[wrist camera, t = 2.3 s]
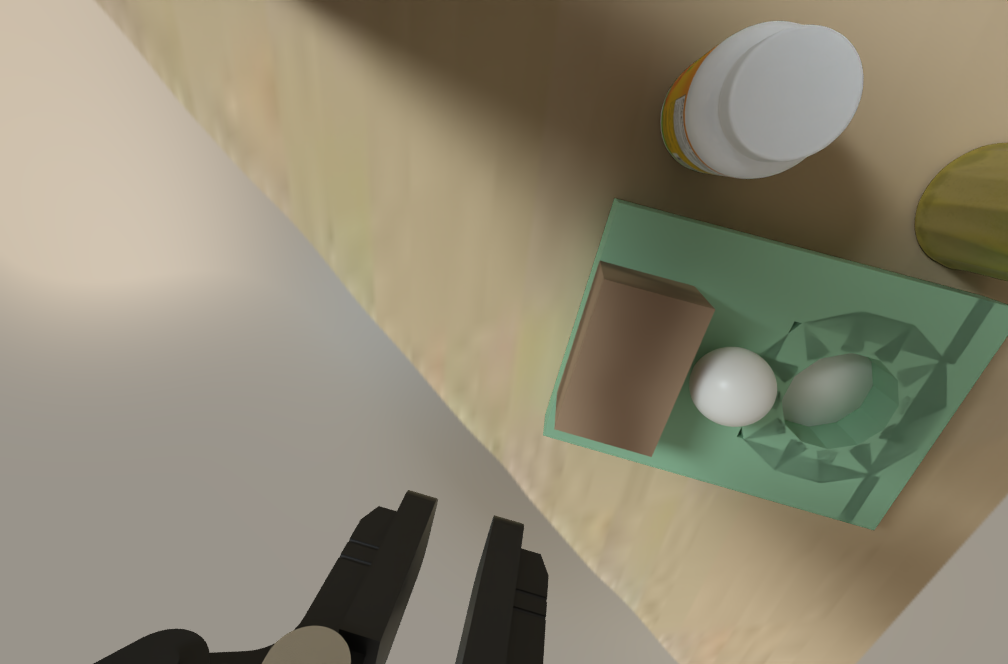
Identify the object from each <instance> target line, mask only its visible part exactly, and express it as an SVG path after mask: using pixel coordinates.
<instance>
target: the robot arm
mask: <svg viewBox="0 0 1008 664" xmlns="http://www.w3.org/2000/svg"><path fill="white" fill-rule="evenodd" d="M437 502H438V499H437V498H433V497H430V496H427V495H423V494H420V493H416V492H413V491H410V490H408V491H407V493H406V494H405V496H404V498H403V500H402V503H401V504H400V507H399V508H398V511H393V510H390V509H387V508H383V507H380V506H379V507H377V508H376V509H374V510H373V511H372V512H370V513H369V514H368V515H366V516H365V517H364V518H362V519H361V520H360V522H359V524H358V525H357V527H356V529H355V531H354V532H353V534H352V536H351V537H350V540H349V542H348V543H347V544H346V546H345V548H344V550H343V551H342V553H341V556H340V558H338V560H337V561H336V563H335V565H334V567H333V569H332V570H331V572H330V574H329V575H328V577H327V579H326V580H325V582H324V584H323V586H322V587H321V589H320V591H319V593H318V594H317V596H316V598H315V600H314V601H313V603H312V605H311V606H310V608H309V610H308V611H307V613H306V615H305V617H304V618H303V620H302V621H301V623H300V624H299V625H298V626H297V627H296V628H295V630H294V631H292V632H289V633H288V634H286V635H285V636H284V637H282V638H281V639H280V640H278V641H277V642H276V643H275V644H273V645H270V646H268V647H265V648H262V649H258V650H253V651H241V652H218V653H209V649H208V646H207V644H206V642H205V641H204V639H203V638H202V637H201V636H199V635H198V634H196V633H194V632H192V631H189V630H185V629H167V630H163V631H158V632H155V633H152V634H150V635H147V636H145V637H143V638H141V639H139V640H137V641H135V642H134V643H132V644H130V645H128V646H126V647H124V648H122V649H120V650H118V651H117V652H115V653H113V654H111V655H109V656H107V657H105V658H103V659H101V660H100V661H98V662H96V663H94V664H385V663H386V660H387V658H388V655H389V652H390V650H391V647H392V644H393V641H394V638H395V636H396V633H397V630H398V628H399V625H400V622H401V620H402V617H403V614H404V611H405V609H406V606H407V603H408V601H409V598H410V595H411V593H412V590H413V587H414V585H415V582H416V579H417V576H418V573H419V571H420V568H421V565H422V562H423V558H424V555H425V551H426V547H427V544H428V539H429V535H430V531H431V527H432V523H433V519H434V515H435V511H436V506H437ZM523 530H524V524H522V523H518V522H515V521H511V520H508V519H505V518H501V517H498V516H494V517H493V520H492V523H491V526H490V530H489V533H488V537H487V540H486V543H485V547H484V550H483V553H482V556H481V560H480V563H479V567H478V570H477V574H476V578H475V582H474V586H473V590H472V594H471V598H470V602H469V607H468V611H467V616H466V620H465V624H464V628H463V633H462V637H461V641H460V645H459V650H458V654H457V658H456V663H455V664H543V656H544V639H545V623H546V620H545V617H546V607H547V602H546V600H547V589H548V573H547V570H546V568H545V565H544V562H543V559H542V557H541V554H538V553H535V552H531V551H528V550H524V549H521V544H522V538H523Z"/></svg>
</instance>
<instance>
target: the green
mask: <svg viewBox="0 0 1008 664" xmlns="http://www.w3.org/2000/svg"><path fill="white" fill-rule="evenodd" d="M599 261H604V262H607V263H611V264H615V265H618V266H622V267H626V268H630V269H633V270H637V271H641V272H644V273H648V274H652V275H655V276H659V277H663V278H666V279H670V280H674V281H677V282H681V283H685V284H689V285H692V286H695V287H696V289H697V290H698V291H699V292H700V293H701V294H702V295H703V296H704V297H705V299H706V300H707V301H708V302H709V303H710V304H711V305H712V306H713V307H714V309H715V311H714V314H713V316H712V318H711V321H710V323H709V325H708V328H707V330H706V332H705V334H704V337H703V339H702V341H701V344H700V346H699V348H698V351H697V353H696V355H695V358H694V360H693V362H692V365H691V367H690V369H689V372H688V374H687V376H686V379H685V381H684V383H683V386H682V388H681V390H680V392H679V395H678V397H677V399H676V402H675V404H674V406H673V409H672V411H671V413H670V416H669V418H668V420H667V423H666V425H665V427H664V430H663V432H662V434H661V437H660V439H659V441H658V444H657V446H656V448H655V451H654V453H653V455H652V457H649V456H646V455H642V454H639V453H635V452H632V451H628V450H625V449H621V448H618V447H614V446H611V445H607V444H604V443H600V442H597V441H593V440H590V439H586V438H583V437H580V436H576V435H573V434H569V433H566V432H562V431H559V430H555V429H554V427H555V413H556V399H557V391H558V388H559V385H560V382H561V379H562V375H563V372H564V369H565V366H566V363H567V360H568V357H569V354H570V351H571V348H572V345H573V341H574V338H575V335H576V332H577V329H578V326H579V323H580V320H581V317H582V314H583V310H584V307H585V304H586V301H587V298H588V295H589V292H590V289H591V286H592V283H593V280H594V276H595V273H596V270H597V267H598V264H599ZM1007 336H1008V304H1005V303H1002V302H999V301H996V300H993V299H990V298H988V297H985V296H981V295H977V294H974V293H970V292H966V291H962V290H959V289H955V288H951V287H947V286H944V285H940V284H936V283H932V282H928V281H925V280H921V279H917V278H913V277H910V276H906V275H902V274H898V273H895V272H891V271H887V270H883V269H880V268H876V267H872V266H868V265H864V264H861V263H857V262H853V261H849V260H846V259H842V258H838V257H834V256H831V255H827V254H823V253H819V252H816V251H812V250H808V249H804V248H800V247H797V246H793V245H789V244H785V243H782V242H778V241H774V240H770V239H767V238H763V237H759V236H755V235H751V234H748V233H744V232H740V231H736V230H733V229H729V228H725V227H721V226H718V225H714V224H710V223H706V222H703V221H699V220H695V219H691V218H687V217H684V216H680V215H676V214H672V213H669V212H665V211H661V210H657V209H654V208H650V207H646V206H642V205H638V204H635V203H631V202H627V201H623V200H620V199H616V198H614V201H613V204H612V207H611V211H610V214H609V217H608V220H607V223H606V226H605V229H604V233H603V236H602V239H601V242H600V245H599V248H598V251H597V254H596V258H595V261H594V264H593V267H592V270H591V273H590V276H589V280H588V283H587V286H586V289H585V292H584V295H583V298H582V301H581V305H580V308H579V311H578V314H577V317H576V320H575V323H574V327H573V330H572V333H571V336H570V339H569V342H568V345H567V348H566V352H565V355H564V358H563V361H562V364H561V367H560V370H559V374H558V377H557V380H556V383H555V386H554V389H553V392H552V395H551V399H550V402H549V405H548V408H547V411H546V414H545V423H544V432H543V436H547V437H550V438H554V439H557V440H561V441H564V442H568V443H571V444H575V445H578V446H582V447H585V448H589V449H592V450H596V451H599V452H603V453H606V454H610V455H613V456H617V457H620V458H624V459H627V460H631V461H634V462H638V463H641V464H645V465H648V466H651V467H655V468H658V469H662V470H665V471H669V472H672V473H676V474H679V475H683V476H686V477H690V478H693V479H697V480H700V481H704V482H707V483H711V484H714V485H718V486H721V487H725V488H728V489H732V490H735V491H739V492H742V493H746V494H749V495H753V496H756V497H759V498H763V499H766V500H770V501H773V502H777V503H780V504H784V505H787V506H791V507H794V508H798V509H801V510H805V511H808V512H812V513H815V514H819V515H822V516H826V517H829V518H833V519H836V520H840V521H843V522H847V523H850V524H854V525H857V526H861V527H864V528H867V529H871V530H875V528H876V527H877V525H878V524H879V523H880V521H881V520H882V518H883V517H884V515H885V514H886V512H887V511H888V509H889V508H890V506H891V505H892V504H893V502H894V501H895V499H896V498H897V496H898V495H899V493H900V492H901V490H902V489H903V488H904V486H905V485H906V483H907V482H908V480H909V479H910V477H911V476H912V474H913V473H914V471H915V470H916V469H917V467H918V466H919V464H920V463H921V461H922V460H923V458H924V457H925V455H926V454H927V452H928V451H929V450H930V448H931V447H932V445H933V444H934V442H935V441H936V439H937V438H938V436H939V435H940V434H941V432H942V431H943V429H944V428H945V426H946V425H947V423H948V422H949V420H950V419H951V417H952V416H953V415H954V413H955V412H956V410H957V409H958V407H959V406H960V404H961V403H962V401H963V400H964V399H965V397H966V396H967V394H968V393H969V391H970V390H971V388H972V387H973V385H974V384H975V382H976V381H977V380H978V378H979V377H980V375H981V374H982V372H983V371H984V369H985V368H986V366H987V365H988V363H989V362H990V361H991V359H992V358H993V356H994V355H995V353H996V352H997V350H998V349H999V347H1000V346H1001V345H1002V343H1003V342H1004V340H1005V339H1006V337H1007ZM722 347H740V348H744V349H747V350H750V351H752V352H754V353H756V354H758V355H759V356H760V357H762V358H763V359H764V360H765V361H766V362H767V363H768V365H769V366H770V367H771V369H772V371H773V373H774V375H775V378H776V382H777V396H776V399H775V402H774V405H773V407H772V408H771V410H770V411H769V412H768V413H767V414H766V415H765V416H764V417H763V418H762V419H760V420H759V421H757V422H755V423H753V424H750V425H747V426H741V427H729V426H724V425H720V424H717V423H715V422H713V421H711V420H709V419H708V418H706V417H705V416H704V415H703V414H702V413H701V412H700V411H699V410H698V409H697V407H696V406H695V404H694V403H693V401H692V398H691V395H690V391H689V379H690V375H691V372H692V369H693V368H694V366H695V364H696V363H697V362H698V361H699V359H700V358H702V357H703V356H704V355H705V354H707V353H709V352H711V351H713V350H715V349H718V348H722Z"/></svg>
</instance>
